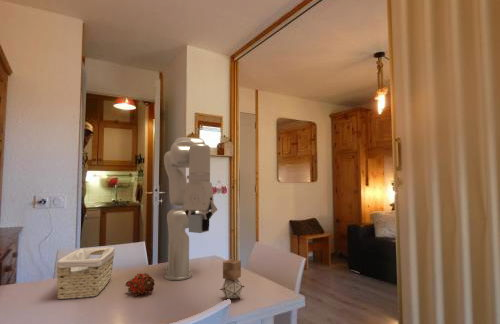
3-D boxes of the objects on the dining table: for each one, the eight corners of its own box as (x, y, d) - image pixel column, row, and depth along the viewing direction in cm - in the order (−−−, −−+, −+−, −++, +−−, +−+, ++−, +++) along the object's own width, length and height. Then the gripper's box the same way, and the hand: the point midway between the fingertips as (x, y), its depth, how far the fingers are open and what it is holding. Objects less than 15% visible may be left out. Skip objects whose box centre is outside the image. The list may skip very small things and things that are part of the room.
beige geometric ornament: (235, 310, 108) (240, 294, 103) (215, 300, 110) (218, 284, 105) (244, 291, 116) (249, 275, 111) (225, 282, 118) (228, 266, 112)
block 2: (222, 278, 110) (222, 262, 110) (229, 274, 114) (229, 259, 115) (234, 280, 107) (234, 263, 108) (240, 276, 112) (240, 260, 112)
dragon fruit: (155, 299, 113) (127, 302, 115) (161, 280, 120) (135, 283, 122) (146, 286, 109) (117, 289, 111) (154, 267, 116) (126, 270, 118)
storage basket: (76, 281, 131) (77, 247, 132) (115, 278, 135) (116, 246, 136) (52, 302, 108) (54, 261, 109) (100, 298, 111) (101, 258, 112)
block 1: (188, 232, 102) (188, 214, 103) (197, 229, 107) (197, 213, 107) (200, 233, 100) (200, 215, 100) (208, 230, 104) (208, 214, 105)
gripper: (173, 178, 105) (173, 229, 104) (213, 178, 98) (213, 233, 96) (187, 178, 112) (186, 226, 111) (225, 178, 104) (225, 230, 103)
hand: (198, 229), depth 103 cm, fingers closed on block 1, 5 cm apart
